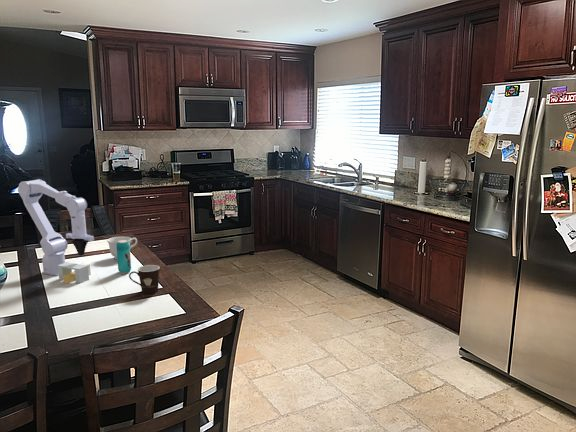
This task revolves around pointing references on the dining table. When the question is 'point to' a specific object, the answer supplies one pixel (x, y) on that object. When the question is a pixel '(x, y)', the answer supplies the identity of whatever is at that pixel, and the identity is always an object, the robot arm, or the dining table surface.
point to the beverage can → (123, 256)
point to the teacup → (113, 243)
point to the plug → (73, 275)
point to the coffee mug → (148, 278)
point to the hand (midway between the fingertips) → (81, 254)
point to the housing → (80, 271)
